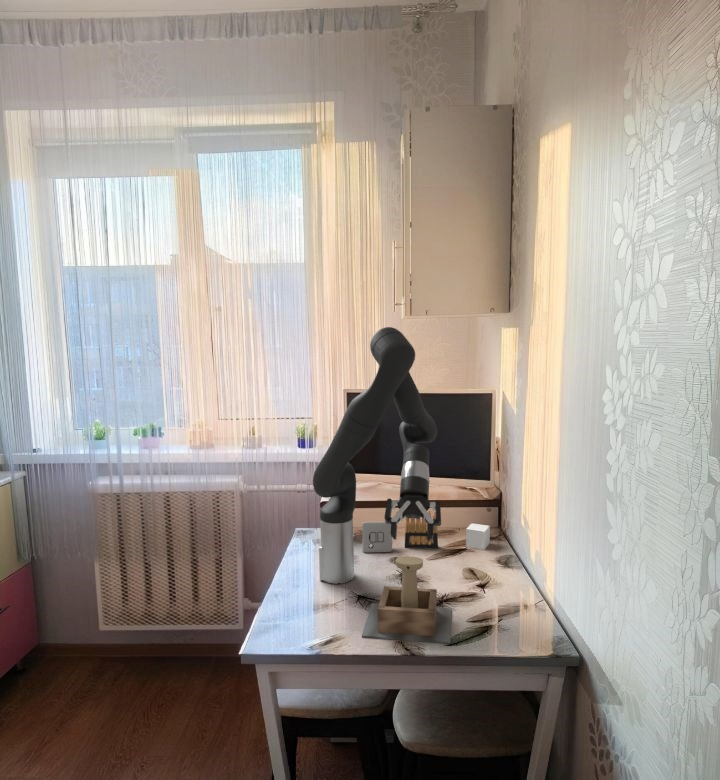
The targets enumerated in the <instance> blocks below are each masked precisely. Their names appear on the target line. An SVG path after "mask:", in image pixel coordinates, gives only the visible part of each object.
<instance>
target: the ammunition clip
mask: <svg viewBox="0 0 720 780" xmlns="http://www.w3.org/2000/svg"><path fill="white" fill-rule="evenodd" d="M427 512H428V513H429V515H430V517H431V518H432V519H436V511H434V510H433V513H431V511H430V510H428V511H427ZM432 514H433V515H432ZM404 519H405V521H404V548H405V549H439V540H438V539H439V537H438V535H439V532H438V530H439V529H438V527H439V526H435V527H434V532H433V539H430V541H428V540H427V533H428V524H427V523H426V522H425V521H424V520H423V518H422V517H421V518H419V519H416V518H407V517H405V518H404ZM415 519H416V520H415Z"/></svg>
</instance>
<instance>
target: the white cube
mask: <svg viewBox="0 0 720 780" xmlns="http://www.w3.org/2000/svg"><path fill="white" fill-rule="evenodd" d="M490 528H491V527H490V525H485V524H478V523H470V524H469V525H468V526H467V528H465V537H466V538H465V540H466V541H465V547H466V548H472V549H478V550H483V549H484V550H486V549H487V547H488V546H489V544H490V537H491V536H490V535H491V533H490ZM484 550H483V551H484Z"/></svg>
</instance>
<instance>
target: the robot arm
mask: <svg viewBox="0 0 720 780" xmlns="http://www.w3.org/2000/svg"><path fill="white" fill-rule="evenodd" d="M369 349H370V353H371V354H372V357H373V358H374V360H375V361H376V362H377V364H378V370H377V372H376V375H375V377H374V379H373V381H372V383H371V384H370V386H369V387H368V388H367V389H366V390H365V391H362V392H361V393H360V394H358V395H356V397H354V398H353V399H352V400H351V402H350V403H349V404H348V406H347V408H346V410H345V412H344V415H343V417H342V419H341V422H340V425H338V426H339V427H338V429H337V431H336V433H335V434H334V436H333V439H332V441H331V442H330V444H329V446H328V449H327V450H326V452H325V454H324V455H323V456H322V458H321V460H320V461H319V463H318V465H317V467H316V468H315V470H314V474H313V476H312V486H313V489H314V491H315V493H316V495H317V496H319V497H321V498H326V499H328V498H329V497H330V499H328V501H327V502H326V503H325V504H324V505H323V506H322V507H321V508H320V511H319V520H320V521H319V522H320V525H319V526H320V546H319V547H318V560H319V562H318V563H319V567H318V568H319V581H322V580H323V582H325V583H329V584H334V585H337V584H338V583H340V584H344V583H345V582H346V583H348V581H349V582H351V581H353V579H354V578H355V561H354V560H355V558H354V557H355V554H354V552H355V551H354V537H353V534H354V511H355V508H356V499H357V478H356V477H357V476H356V473H355V472H356V471H355V469H354V467H353V465H352V464H351V463H350V461H351V460H352V459H353V458H355V456H356V455H358V453H359V452H360V451H361V450H362V449H363V448H364V447H365V446H366V445H367V444H368V443H369V442H370V441H371V439H373V437H374V435H375V432H376V431H377V429H378V427H379V424H380V423H381V421H382V418H383V416H384V414H385V413H386V410H387V408H388V406H389V405H390V403H391V401H392V399H393V401H394V404H395V407H396V409H397V412H398V415H399V418H400V420H401V421H402V422H401V423H400V425H399V427H398V433H399V436H400V441H401V445H402V450H403V457H402V458H403V461H402V469H401V473H400V474H401V475H400V487H399V488H400V489H399V499H398V500H392V499H391V498H390V497H389V498H387V499H386V505H385V510H384V511H385V513H384V522H386V523H387V524H388V523H389V524H391V532H390V533H391V537H392V540H394V541H395V540H397V535H398V524H399V523H400V522H401V521H403V520H404V519H405V517H407V518H409V519H411V518H415V519H419V518H420V519H422V518H423V520H424V521H425V522H426V525H427V524H428V533H427V536H426V541H427V540H428V541H430V539H433V532H434V527H435V526H438V527H440V526H441V525H442V512H441V511H442V510H441V501H440V500H439V499H438V500H436V501H429V498H430V497H429V495H430V494H429V493H430V482H431V481H430V451H429V449H428V448H427V447H426V446H424V445H422V444H427V443H432V442H433V441H435V439H436V438H437V435H438V428H437V425H436V422H435V420H434V419H433V417H432V416H431V415H430V413H428V411H427V409H426V408H425V407H424V402H423V400H422V397H421V393H420V391H419V390H418V388H417V385H416V383H415V381H414V379H413V377H412V375H411V373H410V370H411V369H412V367H413V365H414V363H415V360H416V350H415V348H414V347H413V345H412V344H411V343H410V341H409V340H408V339H407V338H406V336H405V335H404V334H403V333H402V332H401V331H400V330H399V329H398V328H394V327H391V326H387V327H382V328H380V329H379V330H376V332H375V333H374V334H373V335H372V338H371V340H370V344H369ZM396 507H397V508H398V510H397V511H396V513H395V514H394V516H392V512H393V511H392V510H395V508H396ZM430 508H431V509H432V510H433V512H434V511H435V512H436V519H433V517H432V516H431V517H430V515H429V513H428V512H429V509H430ZM350 580H351V581H350ZM346 583H345V584H346Z"/></svg>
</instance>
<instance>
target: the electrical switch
mask: <svg viewBox="0 0 720 780" xmlns="http://www.w3.org/2000/svg"><path fill="white" fill-rule="evenodd" d="M361 529H362V551H363V553H391V552H392V551H393V537H391V533H390V532H391V524H389V523H388V524H387V523H386V522H385V521H364V522H362V524H361ZM371 545H372V546H371Z"/></svg>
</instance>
